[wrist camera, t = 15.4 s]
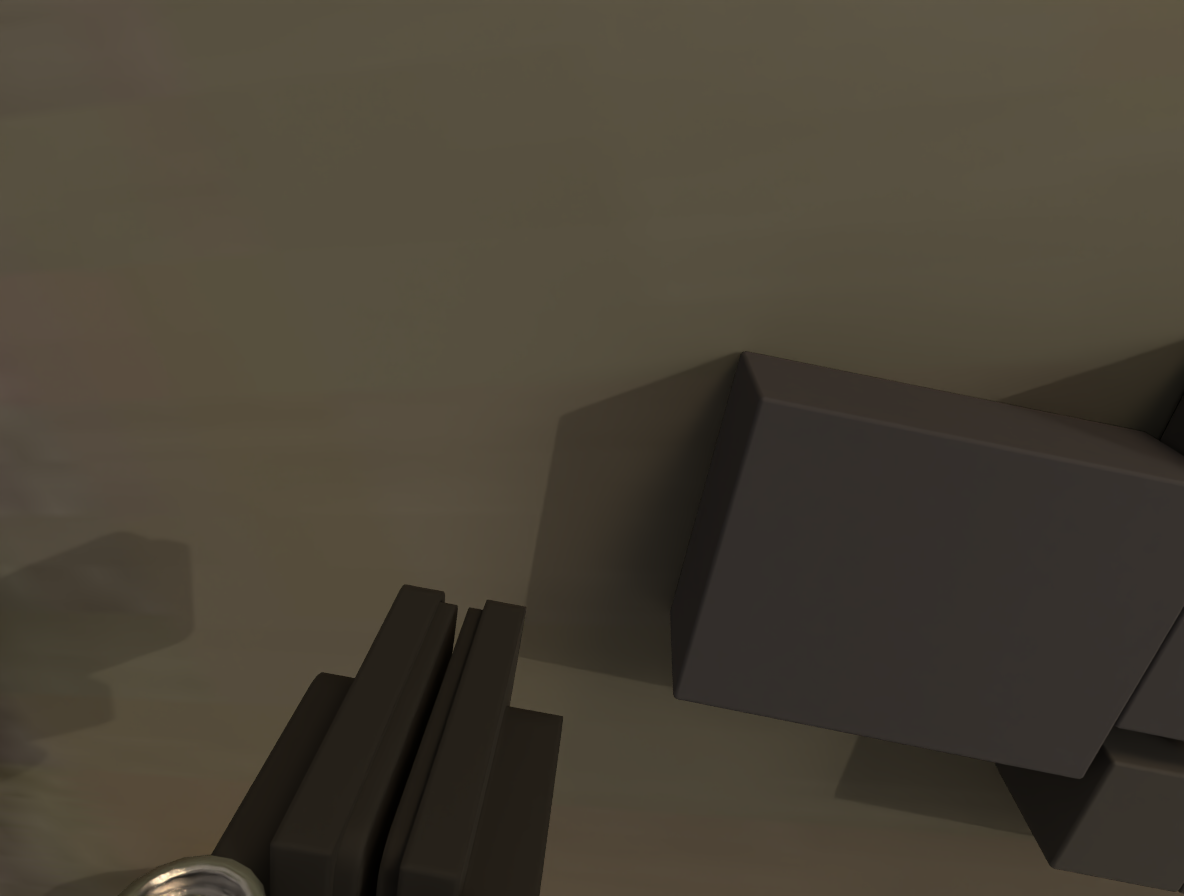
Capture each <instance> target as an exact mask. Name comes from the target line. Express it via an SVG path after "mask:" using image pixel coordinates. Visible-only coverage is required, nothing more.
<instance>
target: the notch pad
mask: <svg viewBox="0 0 1184 896" xmlns="http://www.w3.org/2000/svg"><path fill="white" fill-rule="evenodd" d="M1160 442H1162V443H1164V444H1165V445H1167V446H1168V447H1170V448H1172V449H1173V450H1175V451H1177V452H1178V453H1180V454H1182V455H1183V456H1184V395H1183V397H1182V399H1181V401H1180V402H1179V404H1178V406H1177V408H1176V410H1175V412H1174V414H1173V416H1172V418H1171V420H1170V422H1169V424H1168V426H1167V428H1166V430H1165V432H1164V434H1163V436H1162V437H1161V439H1160ZM995 765H996V767H997V769H998V771H999V772H1000V774H1001V776H1002V778H1003V780H1004V782H1005V784H1006V785H1007V787H1008V789H1009V791H1010V793H1011V795H1012V797H1013V798H1014V800H1015V802H1016V804H1017V806H1018V808H1019V810H1020V811H1021V813H1022V815H1023V817H1024V819H1025V821H1026V823H1027V824H1028V826H1029V828H1030V830H1031V832H1032V834H1033V836H1034V837H1035V839H1036V841H1037V843H1038V845H1039V847H1040V849H1041V850H1042V852H1043V854H1044V856H1045V858H1046V860H1047V862H1048V863H1049V865H1050V866H1051V867H1052V868H1054V869H1059V870H1064V871H1069V872H1075V873H1080V874H1085V875H1090V876H1095V877H1101V878H1106V879H1111V880H1116V881H1121V882H1126V883H1132V884H1137V885H1142V886H1147V887H1152V888H1158V889H1163V890H1168V891H1173V892H1175V891H1179V892H1180V893H1182V894H1184V741H1181V740H1176V739H1171V738H1166V737H1161V736H1156V735H1151V734H1146V733H1141V732H1136V731H1131V730H1126V729H1121V728H1118V727H1116V726H1114V725H1113V727H1112V729H1111V731H1110V732H1109V734H1108V736H1107V737H1106V739H1105V741H1104V742H1103V744H1102V746H1101V748H1100V749H1099V751H1098V753H1097V754H1096V756H1095V758H1094V759H1093V761H1092V763H1091V764H1090V766H1089V768H1088V770H1087V771H1086V773H1085V775H1084V776H1083V778H1081V779H1075V778H1070V777H1065V776H1060V775H1055V774H1050V773H1045V772H1040V771H1035V770H1030V769H1025V768H1020V767H1015V766H1010V765H1005V764H1000V763H995Z"/></svg>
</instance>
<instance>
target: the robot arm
mask: <svg viewBox="0 0 1184 896" xmlns="http://www.w3.org/2000/svg"><path fill="white" fill-rule="evenodd" d="M457 611H458V606H457V605H454V604H448V603H445V593H444V592H443V591H438V590H432V589H427V588H422V587H416V586H411V585H403V586H402V588H401V589H400V591H399V593H398V595H397V597H396V599H395V601H394V603H393V605H392V607H391V609H390V611H389V613H388V615H387V616H386V618H385V620H384V622H383V624H382V626H381V628H380V630H379V632H378V634H377V636H376V638H375V640H374V642H373V644H372V646H371V648H370V650H369V652H368V654H367V656H366V658H365V659H364V661H363V663H362V665H361V667H360V669H359V671H358V673H357V675H356V677H355V678H351V677H345V676H340V675H334V674H329V673H323V672H321V673H320V674H319V675H317V676H316V678H315V679H314V680H313V682H312V683H311V685H310V686H309V688H308V690H307V692H306V693H305V695H304V697H303V698H302V700H301V702H300V703H299V705H298V707H297V709H296V710H295V712H294V714H293V715H292V717H291V719H290V721H289V722H288V724H287V726H286V727H285V729H284V731H283V733H282V734H281V736H280V738H279V739H278V741H277V743H276V745H275V746H274V748H273V750H272V751H271V753H270V755H269V757H268V758H267V760H266V762H265V763H264V765H263V767H262V769H261V770H260V772H259V774H258V775H257V777H256V779H255V781H254V782H253V784H252V786H251V787H250V789H249V791H248V793H247V794H246V796H245V798H244V799H243V801H242V803H241V805H240V806H239V808H238V810H237V811H236V813H235V815H234V817H233V818H232V820H231V822H230V823H229V825H228V827H227V829H226V830H225V832H224V834H223V835H222V837H221V839H220V841H219V842H218V844H217V846H216V847H215V849H214V851H213V853H212V854H211V855H205V856H195V857H185V858H181V859H178V860H176V861H173V862H170V863H167V864H164V865H161V866H158V867H156V868H155V869H153V870H151V871H150V872H148V873H146V874H145V875H143V876H141V877H140V878H138V879H136V880H135V881H133V882H132V883H131V884H129V885H128V886H127V887H126V888H125V889H124V890H123V891H122V892H121V893H120V894H119V895H118V896H539V894H540V887H541V879H542V872H543V865H544V857H545V850H546V842H547V835H548V827H549V820H550V812H551V805H552V798H553V790H554V783H555V775H556V768H557V760H558V753H559V746H560V738H561V731H562V722H563V716H558V715H552V714H547V713H541V712H536V711H531V710H525V709H520V708H514V707H509V706H510V700H511V694H512V689H513V683H514V677H515V671H516V665H517V660H518V654H519V648H520V642H521V636H522V631H523V625H524V619H525V613H526V607H524V606H519V605H513V604H508V603H503V602H497V601H492V600H487V601H486V603H485V606H484V609H483V610H481V609H475V608H469V609H468V611H467V614H466V617H465V620H464V623H463V625H462V628H461V631H460V634H459V637H458V639H457V642H456V645H455V648H454V651H453V643H454V635H455V628H456V620H457ZM452 651H453V654H452Z"/></svg>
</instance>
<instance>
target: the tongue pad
mask: <svg viewBox="0 0 1184 896" xmlns="http://www.w3.org/2000/svg"><path fill="white" fill-rule="evenodd" d="M670 620H671V648H672V675H673V695H674V697H675V698H676V699H680V700H685V701H690V702H695V703H700V704H705V705H710V706H715V707H720V708H725V709H730V710H735V711H740V712H745V713H750V714H755V715H760V716H765V717H770V718H775V719H780V720H785V721H790V722H795V723H800V724H805V725H810V726H815V727H820V728H825V729H830V730H835V731H840V732H845V733H850V734H855V735H860V736H865V737H870V738H875V739H880V740H885V741H890V742H895V743H900V744H905V745H910V746H915V747H920V748H925V749H930V750H935V751H940V752H945V753H950V754H955V755H960V756H965V757H970V758H975V759H980V760H985V761H990V762H995V763H1000V764H1005V765H1010V766H1015V767H1020V768H1025V769H1030V770H1035V771H1040V772H1045V773H1050V774H1055V775H1060V776H1065V777H1070V778H1075V779H1081V778H1083V776H1084V775H1085V773H1086V771H1087V770H1088V768H1089V766H1090V764H1091V763H1092V761H1093V759H1094V758H1095V756H1096V754H1097V753H1098V751H1099V749H1100V748H1101V746H1102V744H1103V742H1104V741H1105V739H1106V737H1107V736H1108V734H1109V732H1110V731H1111V729H1112V727H1113V725H1114V726H1116V727H1118V728H1121V729H1126V730H1131V731H1136V732H1141V733H1146V734H1151V735H1156V736H1161V737H1166V738H1171V739H1176V740H1181V741H1184V456H1183V455H1182V454H1180V453H1178V452H1177V451H1175V450H1173V449H1172V448H1170V447H1168V446H1167V445H1165V444H1164V443H1162V442H1160V441H1159V440H1157V439H1155V438H1154V437H1152V436H1151V435H1149V434H1147V433H1146V432H1143V431H1138V430H1133V429H1128V428H1123V427H1118V426H1113V425H1109V424H1104V423H1099V422H1094V421H1089V420H1084V419H1079V418H1074V417H1069V416H1064V415H1059V414H1054V413H1049V412H1044V411H1039V410H1034V409H1029V408H1024V407H1019V406H1014V405H1010V404H1005V403H1000V402H995V401H990V400H985V399H980V398H975V397H970V396H965V395H960V394H955V393H950V392H945V391H940V390H935V389H930V388H925V387H920V386H915V385H910V384H906V383H901V382H896V381H891V380H886V379H881V378H876V377H871V376H866V375H861V374H856V373H851V372H846V371H841V370H836V369H831V368H826V367H821V366H816V365H811V364H806V363H802V362H797V361H792V360H787V359H782V358H777V357H772V356H767V355H762V354H757V353H752V352H747V351H745V352H742V353H741V355H740V358H739V362H738V365H737V369H736V373H735V376H734V380H733V384H732V387H731V391H730V395H729V398H728V402H727V406H726V409H725V413H724V417H723V420H722V424H721V428H720V431H719V435H718V439H717V442H716V446H715V450H714V453H713V457H712V461H711V464H710V468H709V472H708V475H707V479H706V483H705V486H704V490H703V494H702V497H701V501H700V505H699V508H698V512H697V516H696V519H695V523H694V527H693V530H692V534H691V538H690V541H689V545H688V549H687V552H686V556H685V560H684V563H683V567H682V571H681V574H680V578H679V582H678V585H677V589H676V593H675V596H674V600H673V604H672V607H671V611H670Z"/></svg>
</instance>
